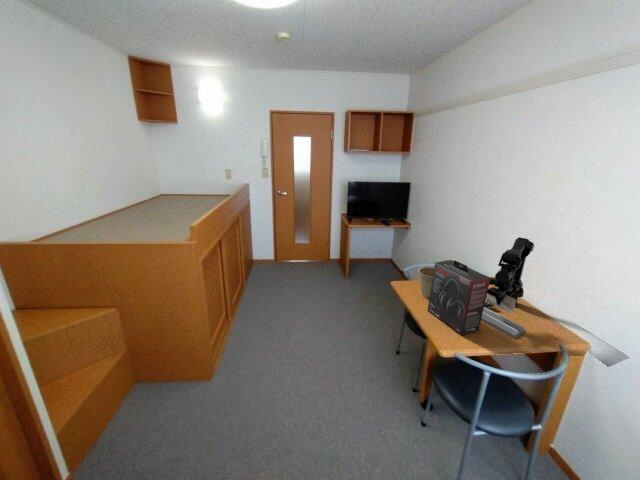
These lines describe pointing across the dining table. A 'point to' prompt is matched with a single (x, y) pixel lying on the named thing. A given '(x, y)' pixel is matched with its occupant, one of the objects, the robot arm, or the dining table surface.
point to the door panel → (503, 303)
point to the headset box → (458, 296)
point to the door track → (502, 323)
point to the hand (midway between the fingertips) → (500, 304)
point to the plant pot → (426, 280)
